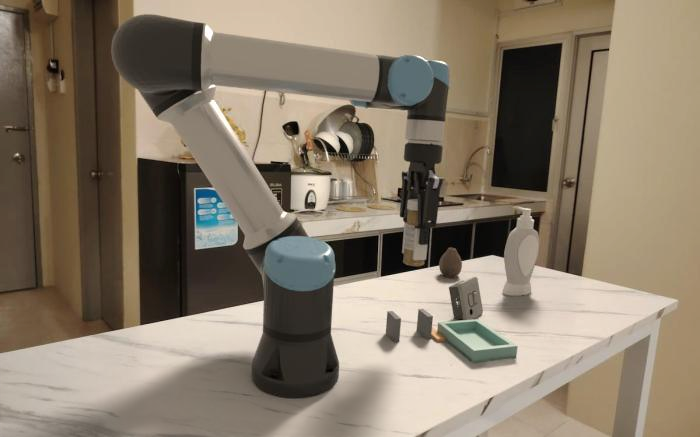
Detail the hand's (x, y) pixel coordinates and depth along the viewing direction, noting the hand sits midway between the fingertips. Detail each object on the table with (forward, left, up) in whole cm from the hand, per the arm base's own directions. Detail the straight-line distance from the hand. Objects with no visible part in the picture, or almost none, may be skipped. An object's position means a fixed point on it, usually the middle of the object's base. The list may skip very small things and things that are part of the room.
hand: (413, 255), depth 99 cm
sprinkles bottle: (0, 0, -2) cm, 2 cm away
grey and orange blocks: (+1, 0, -18) cm, 18 cm away
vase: (+33, +39, -18) cm, 54 cm away
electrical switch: (+19, +8, -18) cm, 27 cm away
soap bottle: (+44, +22, -18) cm, 53 cm away
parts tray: (+12, -7, -18) cm, 23 cm away
